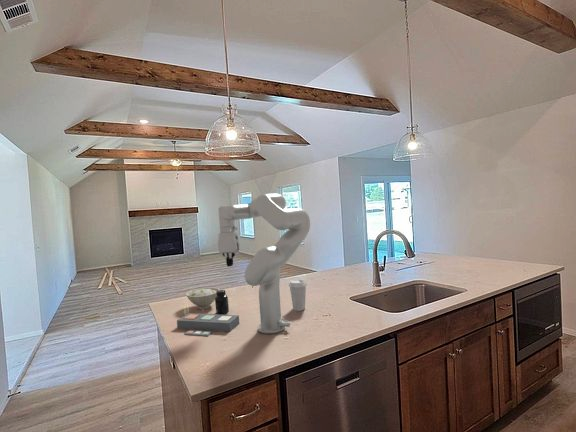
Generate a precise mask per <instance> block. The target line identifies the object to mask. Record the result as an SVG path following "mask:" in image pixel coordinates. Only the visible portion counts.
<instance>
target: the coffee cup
mask: <svg viewBox="0 0 576 432" xmlns="http://www.w3.org/2000/svg"><path fill="white" fill-rule="evenodd" d="M288 286H289V291H290V297H291V302H292V303H291V304H292V309H293V311H297V312H300V311H301V312H302V311H305V310H306V294H307V292H306V291H307V290H306V289H307V281H305V279H300V278H299V279H298V278H297V279H292V280H290V281H289V283H288Z"/></svg>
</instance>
